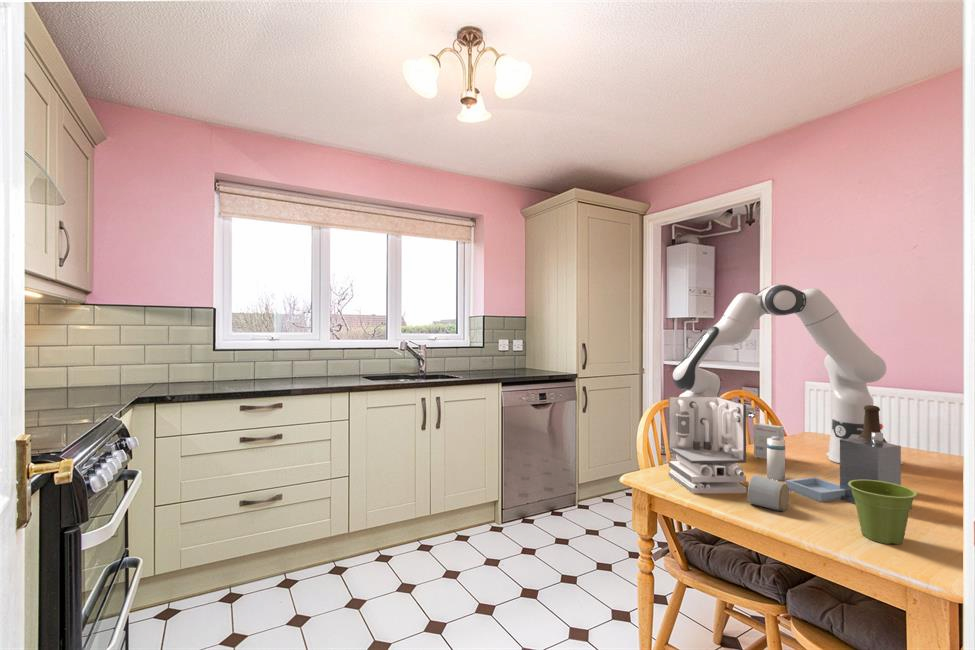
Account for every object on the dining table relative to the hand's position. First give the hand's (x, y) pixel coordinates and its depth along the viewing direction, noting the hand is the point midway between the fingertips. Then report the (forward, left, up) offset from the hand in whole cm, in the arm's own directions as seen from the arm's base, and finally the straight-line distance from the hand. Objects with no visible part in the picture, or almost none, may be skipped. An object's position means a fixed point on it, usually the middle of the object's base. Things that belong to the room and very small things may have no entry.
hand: (743, 415), depth 162 cm
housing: (-7, +36, -17) cm, 40 cm away
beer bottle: (-19, +28, -17) cm, 38 cm away
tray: (0, +27, -17) cm, 32 cm away
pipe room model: (+25, +12, -17) cm, 32 cm away
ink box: (-17, -6, -17) cm, 25 cm away
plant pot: (+13, +53, -17) cm, 57 cm away
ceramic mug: (+21, +30, -17) cm, 41 cm away
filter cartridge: (0, +13, -17) cm, 21 cm away
